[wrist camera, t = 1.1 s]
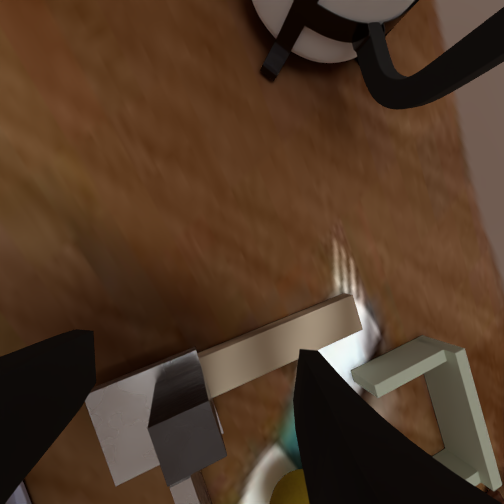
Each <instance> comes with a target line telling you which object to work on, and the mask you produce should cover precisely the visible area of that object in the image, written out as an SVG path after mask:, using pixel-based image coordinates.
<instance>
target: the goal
mask: <svg viewBox="0 0 504 504" xmlns="http://www.w3.org/2000/svg"><path fill="white" fill-rule="evenodd" d="M351 373H352V376H353V379H354V382H356V383H357V384H359V385H360V386H361V387H363V388H364V389H366V390H367V391H369V392H370V393H372V394H373V395H375V396H376V397H377V398H379V397H381V396H383V395H385V394H386V393H388V392H390V391H392V390H394V389H396V388H398V387H399V386H401V385H403V384H405V383H407V382H409V381H410V380H412V379H414V378H416V377H418V376H420V375H422V374H423V373H424V376H425V380H426V383H427V387H428V390H429V394H430V397H431V401H432V404H433V408H434V411H435V415H436V418H437V422H438V425H439V428H440V432H441V435H442V439H443V442H444V446H445V449H443V450H442V451H440V452H439V453H437V454H436V455H434V456H432V457H433V458H435V459H436V460H437V461H439V462H440V463H442V464H443V465H444V466H446V467H447V468H449V469H450V470H451V471H453V472H454V473H456V474H457V475H459V476H460V477H462V478H463V479H465V480H466V481H468V482H469V483H471V484H472V485H474V486H476V485H478V484H479V483H480V482H481V483H483V484H484V485H485V486H487V487H488V488H490V489H491V490H492V491H495V490H496V489H498V488H499V487H501V486H502V482H501V479H500V475H499V471H498V468H497V464H496V461H495V457H494V453H493V450H492V446H491V442H490V439H489V435H488V432H487V428H486V424H485V421H484V417H483V414H482V410H481V406H480V403H479V399H478V395H477V392H476V388H475V385H474V381H473V377H472V374H471V370H470V367H469V363H468V359H467V356H466V352H465V348H461V347H458V346H455V345H452V344H449V343H445V342H442V341H439V340H436V339H433V338H429V337H426V336H423V335H422V336H420V337H418V338H416V339H414V340H412V341H410V342H408V343H406V344H404V345H402V346H400V347H398V348H396V349H394V350H392V351H390V352H388V353H386V354H384V355H382V356H379V357H377V358H375V359H373V360H371V361H369V362H367V363H365V364H363V365H361V366H359V367H357V368H355V369H353V370H351Z"/></svg>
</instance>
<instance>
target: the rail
mask: <svg viewBox="0 0 504 504" xmlns="http://www.w3.org/2000/svg"><path fill="white" fill-rule="evenodd" d="M360 330H362V325H361V322H360V319H359V315H358V312H357V308H356V305H355V302H354V298H353V295H350V294H345V293H344V294H341V295H339V296H336V297H334V298H331V299H329V300H327V301H324V302H322V303H319V304H317V305H314V306H312V307H309V308H307V309H305V310H302V311H300V312H297V313H295V314H292V315H290V316H287V317H285V318H283V319H280V320H278V321H275V322H273V323H270V324H268V325H265V326H263V327H261V328H258V329H256V330H253V331H251V332H248V333H246V334H243V335H241V336H239V337H236V338H234V339H231V340H229V341H226V342H224V343H221V344H219V345H217V346H214V347H212V348H209V349H207V350H204V351H202V352H199V353H197V354H198V357H199V360H200V363H201V366H202V369H203V372H204V375H205V378H206V381H207V384H208V387H209V390H210V393H211V396H212V398H213V397H216V396H218V395H220V394H222V393H224V392H227V391H229V390H231V389H233V388H235V387H238V386H240V385H242V384H244V383H246V382H249V381H251V380H253V379H255V378H257V377H259V376H262V375H264V374H266V373H268V372H270V371H273V370H275V369H277V368H279V367H281V366H284V365H286V364H288V363H290V362H292V361H295V360H297V359H298V358H299V350H300V349H307V350H319V349H321V348H323V347H325V346H327V345H330V344H332V343H334V342H336V341H338V340H340V339H343V338H345V337H347V336H349V335H351V334H354V333H356V332H358V331H360Z"/></svg>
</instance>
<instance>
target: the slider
mask: <svg viewBox="0 0 504 504" xmlns="http://www.w3.org/2000/svg"><path fill="white" fill-rule="evenodd" d="M85 403H86V406H87V409H88V411H89V414H90V417H91V420H92V422H93V425H94V428H95V431H96V433H97V436H98V439H99V442H100V444H101V447H102V450H103V453H104V455H105V458H106V461H107V464H108V466H109V469H110V472H111V475H112V477H113V480H114V483H115V486H117V485H119V484H122V483H124V482H126V481H128V480H130V479H132V478H134V477H136V476H138V475H140V474H142V473H144V472H146V471H148V470H150V469H152V468H154V467H156V466H158V465H160V466H161V469H162V472H163V475H164V477H165V480H166V483H167V486H170V490H171V493H172V496H173V499H174V502H175V504H212V503H211V500H210V497H209V494H208V491H207V488H206V485H205V482H204V479H203V477H202V474H201V471H200V470H201V469H203V468H205V467H207V466H209V465H211V464H213V463H215V462H216V461H218V460H220V459H222V458H224V457H226V456H227V453H226V449H225V445H224V441H223V437H222V434H223V429H222V426H221V423H220V420H219V417H218V414H217V411H216V408H215V405H214V402H213V399H212V396H211V393H210V390H209V387H208V384H207V381H206V378H205V375H204V372H203V369H202V366H201V363H200V360H199V357H198V354H197V351H196V348H195V347H193V348H190V349H188V350H185V351H183V352H180V353H178V354H175V355H173V356H170V357H168V358H166V359H163V360H161V361H158V362H156V363H153V364H151V365H148V366H146V367H143V368H141V369H138V370H136V371H133V372H131V373H128V374H126V375H123V376H121V377H118V378H116V379H113V380H111V381H108V382H106V383H103V384H101V385H98V386H96V387H93V388H92V390H91V392H90V393H89V395H88V397H87V398H86V400H85Z"/></svg>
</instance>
